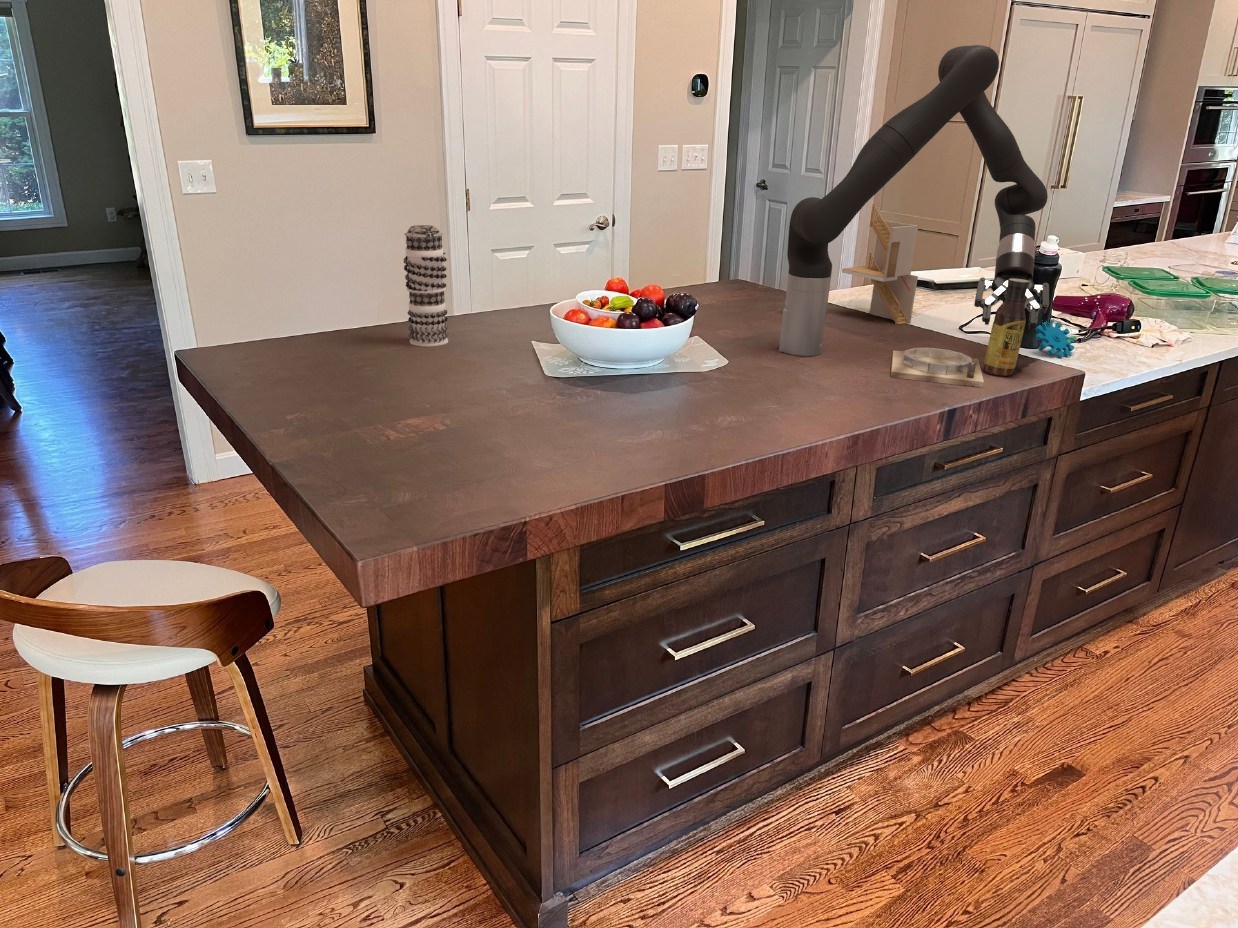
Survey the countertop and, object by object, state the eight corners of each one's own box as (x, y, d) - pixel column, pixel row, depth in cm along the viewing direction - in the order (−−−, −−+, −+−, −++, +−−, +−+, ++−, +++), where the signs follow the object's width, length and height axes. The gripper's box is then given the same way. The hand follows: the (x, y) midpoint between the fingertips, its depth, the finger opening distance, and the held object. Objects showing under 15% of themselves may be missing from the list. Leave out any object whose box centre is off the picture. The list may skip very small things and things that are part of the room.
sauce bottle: (999, 378, 186) (1019, 283, 178) (976, 370, 191) (994, 278, 183) (1021, 375, 189) (1041, 281, 181) (997, 367, 194) (1016, 276, 186)
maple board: (890, 377, 184) (891, 371, 183) (892, 355, 200) (893, 350, 199) (982, 387, 179) (983, 382, 179) (977, 364, 195) (978, 359, 195)
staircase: (885, 329, 225) (903, 211, 213) (836, 316, 237) (850, 204, 225) (910, 325, 230) (929, 210, 219) (860, 312, 242) (876, 202, 231)
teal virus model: (1045, 352, 200) (1035, 315, 204) (1027, 365, 206) (1017, 328, 209) (1085, 357, 203) (1074, 320, 207) (1066, 370, 209) (1056, 333, 212)
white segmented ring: (902, 370, 184) (904, 356, 183) (903, 353, 197) (905, 340, 196) (973, 378, 181) (976, 364, 180) (970, 361, 193) (972, 347, 192)
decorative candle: (455, 337, 201) (450, 224, 192) (443, 348, 193) (438, 230, 183) (415, 335, 202) (409, 222, 192) (402, 345, 193) (395, 228, 184)
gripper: (982, 247, 189) (976, 311, 183) (1055, 252, 185) (1050, 318, 179) (976, 268, 195) (969, 331, 190) (1046, 274, 192) (1041, 338, 186)
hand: (1009, 325), depth 184 cm, fingers open, 8 cm apart
